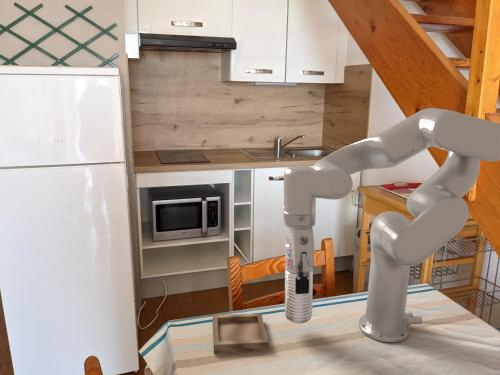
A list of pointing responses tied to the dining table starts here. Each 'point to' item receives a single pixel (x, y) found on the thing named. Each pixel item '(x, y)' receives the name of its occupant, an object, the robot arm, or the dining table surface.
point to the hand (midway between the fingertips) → (298, 285)
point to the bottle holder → (239, 333)
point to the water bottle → (295, 304)
